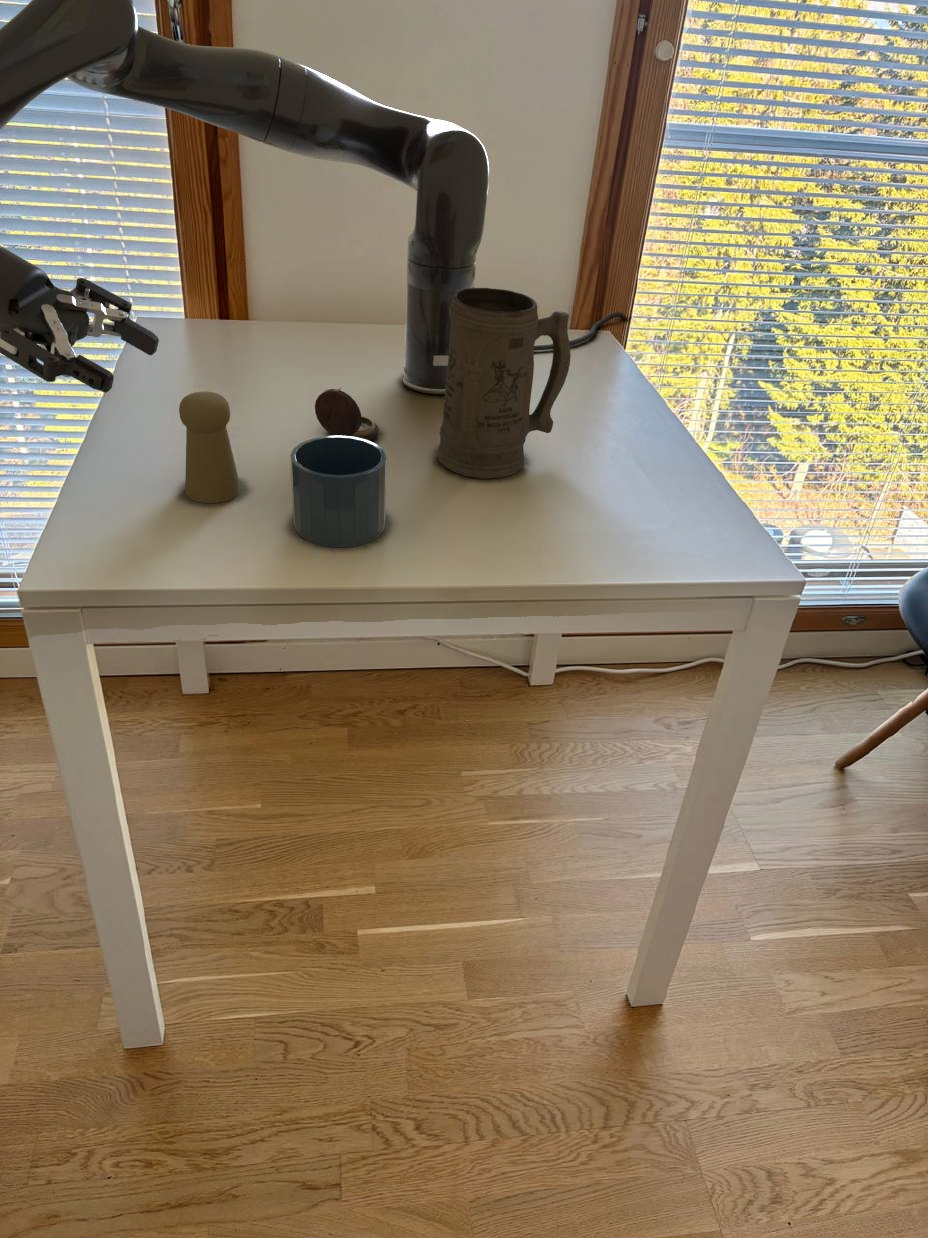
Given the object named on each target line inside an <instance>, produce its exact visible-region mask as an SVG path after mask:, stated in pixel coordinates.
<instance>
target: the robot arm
mask: <svg viewBox="0 0 928 1238" xmlns="http://www.w3.org/2000/svg"><path fill="white" fill-rule="evenodd" d="M65 79H67V80H69V81H70V82H73V83H74V84H77V85H78V86H80V87H82V88H85V89H88V90H90V91H93V92H97V93H100V94H106V95H109V96H113V97H119V98H123V99H126V100H127V99H128V100H132V101H137V102H141V103H145V104H149V105H152V106H153V105H154V106H157V107H160V108H164V109H168V110H171V111H175V112H178V113H181V114H183V115H186V116H188V117H191V118H193V119H197V120H198V121H201V122H203V123H207V124H210V125H212V126H214V127H218V128H220V129H224V130H227V131H229V132H232V133H235V134H239V135H241V136H244V137H246V138H248V139H251V140H253V141H256V142H258V143H262V144H263V145H267V146H270V147H273V148H277V149H280V150H282V151H285V152H288V153H291V154H295V155H299V156H302V157H307V158H311V159H312V158H313V159H317V160H324V161H329V162H337V163H345V164H352V165H357V166H361V167H365V168H368V169H370V170H372V171H375V172H378V173H380V174H382V175H384V176H387V177H389V178H391V179H394V180H396V181H398V182H400V183H402V184H403V185H405V186H408V187H409V188H411V189H412V190H414V191H416V204H415V205H416V206H415V222H414V227H413V231H412V232H411V233H410V235H409V236H408V239H407V258H406V259H407V260H406V289H405V290H406V292H405V293H406V295H405V296H406V297H405V323H404V325H405V326H404V328H405V329H404V357H403V358H404V361H403V362H404V363H403V364H404V365H403V375H402V383H403V385H405V386H406V387H407V388H409V389H411V390H413V391H414V392H415V391H416V392H419V393H423V394H429V395H445V388H446V378H447V368H448V357H449V346H450V334H451V319H450V316H449V308H450V306H451V302H452V297H453V295H454V294H455V292H457V291H459V290H462V289H467V288H475V281H476V280H475V279H476V268H477V267H476V265H477V256H478V250H479V247H480V245H481V243H482V240H483V236H484V229H485V221H486V220H485V219H486V211H487V204H488V203H487V202H488V193H489V192H488V191H489V181H490V180H489V178H490V177H489V176H490V167H489V159H488V155H487V152H486V149H485V147H484V145H483V143H482V142H481V140H480V139H479V138H478V137H477V136H476V135H475V134H473V133H472V132H470V131H468V130H467V129H465V128H463V127H461V126H459V125H457V124H455V123H453V122H449V121H446V120H441V119H435V118H430V117H426V116H422V115H418V114H414V113H410V112H408V111H407V112H406V111H403V110H399V109H395V108H393V107H389V106H386V105H383V104H381V103H378V102H376V101H374V100H371V99H369V98H368V97H366V96H364V95H362V94H361V93H359V92H357V91H356V90H355V89H352V88H351V87H349V86H347V85H346V84H343V83H341V82H339V81H337V80H336V79H334V78H331V77H329V76H327V75H326V74H324V73H321V72H318V71H317V70H314V69H312V68H309V67H307V66H305V65H302V64H300V63H298V62H295V61H292V60H290V59H287V58H284V57H282V56H279V55H277V54H274V53H271V52H268V51H265V50H264V51H263V50H259V49H254V48H246V47H234V46H233V47H231V46H230V47H229V46H208V45H195V44H189V43H185V42H180V41H177V40H175V39H172V38H168V37H165V36H164V35H160V34H159V33H156V32H154V31H151V30H148V29H146V28H144V27H142V26H139V18H138V13H137V8H136V6H135V3H134V1H133V0H30V2H28V4H26V6H24V7H23V8H22V9H21V10H20V11H19V12H18V13H17V14H16V15H15V16H13V17H12V19H10V20H9V21H8V22H6V23H5V24H3V26H2V27H1V28H0V131H2V130H3V129H4V128H5V127H6V126H7V125H8V124H9V122H11V120H13V118H15V117H16V116H17V114H19V112H21V111H22V110H23V109H25V107H26V106H28V104H29V103H31V102H32V101H34V100H35V99H36V98H38V96H40V95H42V94H43V93H44V92H45V91H47V90H48V89H50V88H51V87H53V86H54V85H56V84H58V83H59V82H61V81H63V80H65ZM110 305H111V306H113V307H115V308H117V309H115V308H111V307H110ZM132 305H133V304H132V303H131V302H130V301H128V300H126V299H124V298H122V297H121V296H119V295H118V294H115V293H113V292H111V291H109V290H108V289H105V288H104V287H101V286H99V285H98V284H96V283H94V282H92V281H90V280H88V279H87V278H84V277H79V278H77V279H76V284H75V286H74V288H73V289H71V290H70V291H69V290H67V289H62V288H59V287H57V286H55V285H54V284H53V282H52V281H51V279H50V277H49V276H48V274H47V273H46V272H45V270H44V269H42V268H40V267H38V266H36V265H35V264H33V263H31V262H29V261H28V260H26V259H25V258H23V257H21V256H20V255H17V254H16V253H14V252H12V251H10V250H9V249H7V248H5V247H4V246H1V245H0V354H1V355H3V356H4V357H6V358H8V359H9V360H11V362H12V361H13V362H14V363H16V364H18V366H21V368H24V369H25V370H27V371H29V372H30V373H32V374H33V375H36V376H37V377H38V378H40V379H42V380H43V381H45V382H48V383H53V382H55V381H56V379H57V377H61V376H62V377H64V378H73V379H75V380H77V381H79V382H80V383H82V384H84V385H85V386H88V388H91V389H93V390H96V391H100V392H101V393H103V394H105V393H108V392H109V391H111V390H112V389H113V383H114V379H115V377H114V374H113V372H112V371H110V370H108V369H107V368H106V367H105V368H104V367H103V366H101V365H100V364H97V363H96V362H94V361H93V360H90V359H88V358H87V357H85V356H83V355H81V354H79V355H76V352H75V350H74V349H73V346H75V345H76V342H77V341H80V340H83V339H84V338H86V337H95V338H99V337H101V336H103V335H107V336H114V337H120V340H122V341H123V342H125V343H127V344H129V345H130V346H132V347H134V348H135V349H137V350H139V351H141V352H143V353H145V354H146V355H148V356H153V355H154V354H155V353H156V352H157V350H158V347H159V342H160V339H159V337H158V335H156V334H155V333H154V332H153V331H151V330H150V329H147V328H146V327H145V326H142V325H141V324H139V323H138V322H136V321H134V320H133V319H131V318H130V316H131V311H132ZM88 313H91V314H93V320H92V322H91V323H90V317H89V314H88ZM614 318H620V319H621V320H622V321H628V318H627V316H626V315H625V313H623V312H620V311H616V312H612V313H609V314H608V315H606V316H604V317H603V318H601V319H600V320H597V321H596V322H595V323H594V324H593V325H592V326H591V328H590V331H589V332H588V333H587V334H584V335H582V336H580V337H578V338H574V339H572V340H569V343H570V347H571V346H575V345H578V344H581V343H583V342H586V341H587V340H589V339H591V338H592V337H593V336H594V335H595V333H596V331H597V329H598V328H599V327H600V326H602V325H604V324H605V323H608V322H609V321H610V320H612V319H614ZM104 320H108V321H111V322H112V323H113V324H111V323H104ZM548 350H553V343H549V344H536V345H535V344H534V351H548ZM38 360H39V361H40V362H42V363H43V364H42V363H40V362H39V361H38Z"/></svg>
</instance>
